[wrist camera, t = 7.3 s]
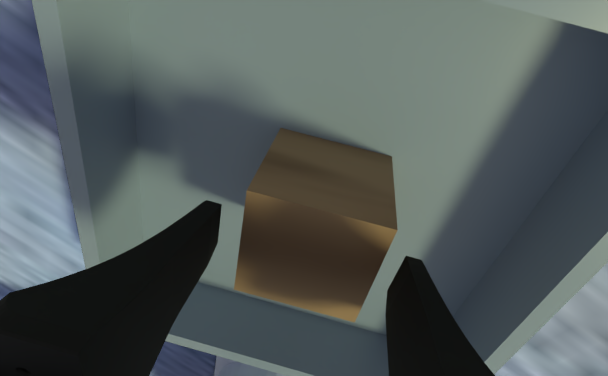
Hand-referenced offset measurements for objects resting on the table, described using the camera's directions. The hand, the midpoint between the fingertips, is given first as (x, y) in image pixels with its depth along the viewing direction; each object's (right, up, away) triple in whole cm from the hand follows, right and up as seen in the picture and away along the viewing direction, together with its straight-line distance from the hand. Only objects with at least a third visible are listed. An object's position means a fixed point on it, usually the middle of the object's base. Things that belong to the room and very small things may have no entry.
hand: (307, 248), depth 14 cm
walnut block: (+1, +2, +3) cm, 4 cm away
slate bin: (+1, +3, +4) cm, 5 cm away
